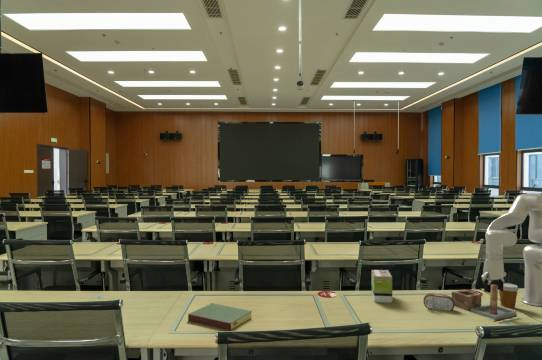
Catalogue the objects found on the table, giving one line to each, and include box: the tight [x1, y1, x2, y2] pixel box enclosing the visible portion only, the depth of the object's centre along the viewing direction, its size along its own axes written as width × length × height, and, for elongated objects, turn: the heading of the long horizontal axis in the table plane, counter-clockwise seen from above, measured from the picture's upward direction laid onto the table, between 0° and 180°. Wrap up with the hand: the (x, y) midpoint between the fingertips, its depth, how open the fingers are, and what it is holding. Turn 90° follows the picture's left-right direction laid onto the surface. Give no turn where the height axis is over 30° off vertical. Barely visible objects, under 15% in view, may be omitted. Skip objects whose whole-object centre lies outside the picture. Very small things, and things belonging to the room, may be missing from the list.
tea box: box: [371, 269, 393, 304], centre depth 231 cm, size 15×10×15 cm, turn 172°
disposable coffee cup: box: [498, 282, 519, 310], centre depth 216 cm, size 10×10×12 cm
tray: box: [470, 304, 517, 323], centre depth 205 cm, size 16×13×2 cm
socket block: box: [451, 289, 482, 312], centre depth 215 cm, size 10×10×8 cm
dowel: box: [489, 284, 499, 314], centre depth 205 cm, size 3×3×14 cm
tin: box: [423, 292, 456, 312], centre depth 211 cm, size 15×3×8 cm, turn 65°
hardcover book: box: [187, 302, 253, 331], centre depth 197 cm, size 25×19×4 cm
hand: (493, 290), depth 204 cm, fingers open, 9 cm apart
